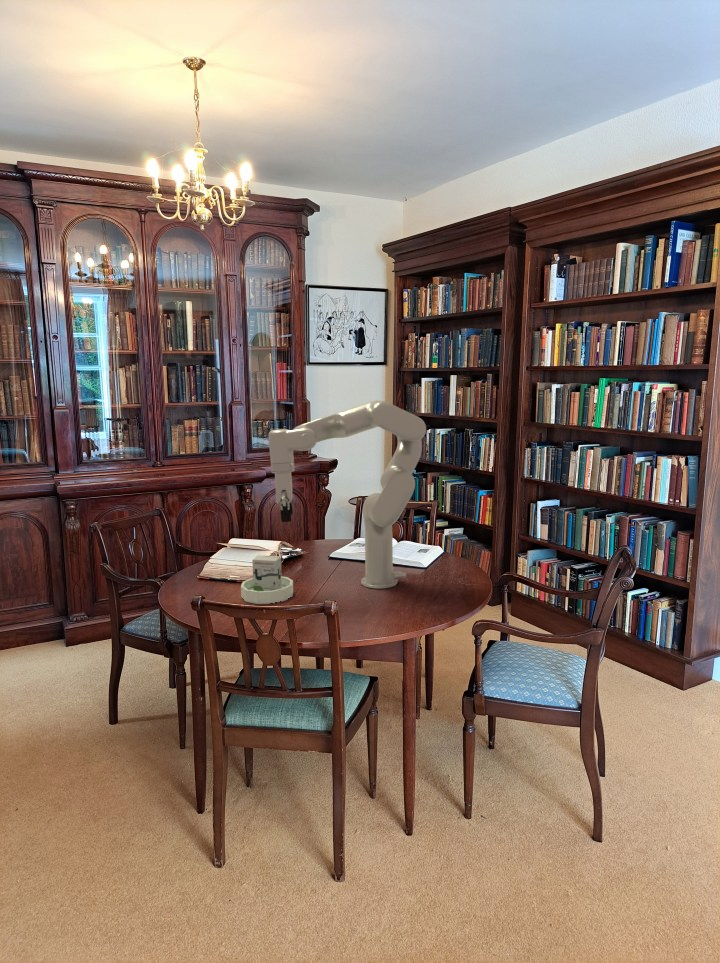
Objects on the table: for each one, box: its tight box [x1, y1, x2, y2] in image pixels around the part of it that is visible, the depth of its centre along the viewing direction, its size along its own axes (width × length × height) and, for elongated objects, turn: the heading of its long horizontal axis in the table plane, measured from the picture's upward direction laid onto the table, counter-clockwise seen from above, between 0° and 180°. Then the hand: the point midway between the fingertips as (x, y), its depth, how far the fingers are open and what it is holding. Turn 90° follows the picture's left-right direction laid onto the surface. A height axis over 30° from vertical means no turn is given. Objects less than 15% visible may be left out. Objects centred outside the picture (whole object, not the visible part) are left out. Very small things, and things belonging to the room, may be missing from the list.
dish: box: [240, 575, 294, 605], centre depth 214 cm, size 17×17×4 cm
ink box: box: [252, 554, 282, 591], centre depth 214 cm, size 9×5×12 cm, turn 78°
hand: (287, 518), depth 213 cm, fingers open, 9 cm apart
